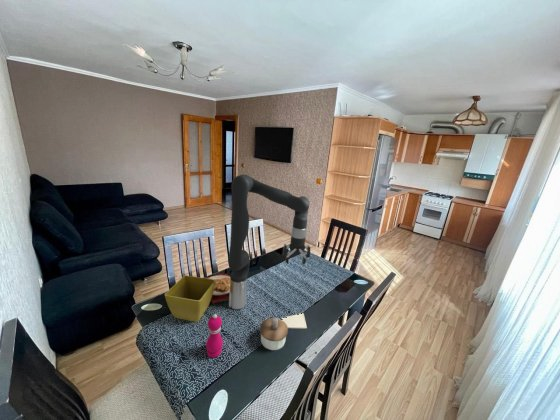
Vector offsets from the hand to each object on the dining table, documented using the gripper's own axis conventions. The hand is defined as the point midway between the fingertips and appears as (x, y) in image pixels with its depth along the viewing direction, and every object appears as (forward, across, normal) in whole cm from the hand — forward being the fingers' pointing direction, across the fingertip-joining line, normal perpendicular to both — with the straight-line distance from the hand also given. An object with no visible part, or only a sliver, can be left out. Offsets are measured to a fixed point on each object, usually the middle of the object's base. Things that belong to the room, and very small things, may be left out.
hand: (295, 263), depth 120 cm
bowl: (+33, -10, -17) cm, 39 cm away
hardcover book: (+34, -42, +18) cm, 57 cm away
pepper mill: (+33, -37, -24) cm, 55 cm away
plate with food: (+36, -37, +16) cm, 54 cm away
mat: (+33, +1, -2) cm, 33 cm away
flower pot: (+33, -54, 0) cm, 64 cm away
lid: (+27, -10, -17) cm, 34 cm away
